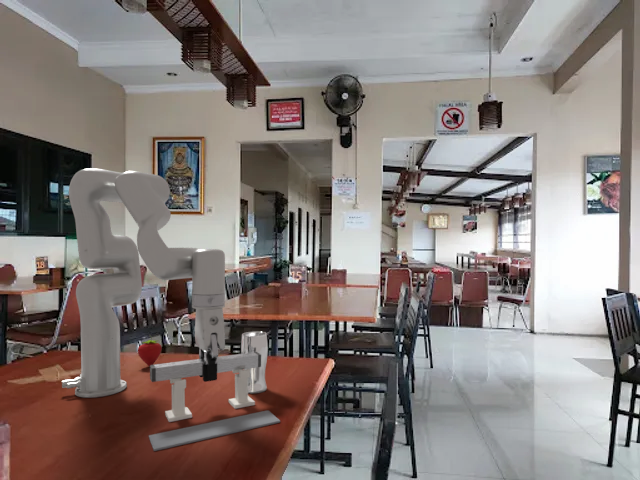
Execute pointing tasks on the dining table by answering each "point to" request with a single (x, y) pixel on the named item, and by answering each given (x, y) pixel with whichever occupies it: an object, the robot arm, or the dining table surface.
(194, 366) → the steel rail
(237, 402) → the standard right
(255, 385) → the silver metal cup
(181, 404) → the standard left
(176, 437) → the mat
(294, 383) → the dining table surface
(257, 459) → the dining table surface
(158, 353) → the strawberry
